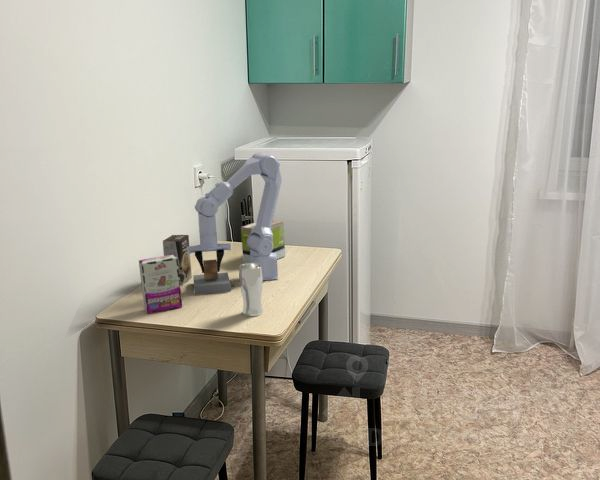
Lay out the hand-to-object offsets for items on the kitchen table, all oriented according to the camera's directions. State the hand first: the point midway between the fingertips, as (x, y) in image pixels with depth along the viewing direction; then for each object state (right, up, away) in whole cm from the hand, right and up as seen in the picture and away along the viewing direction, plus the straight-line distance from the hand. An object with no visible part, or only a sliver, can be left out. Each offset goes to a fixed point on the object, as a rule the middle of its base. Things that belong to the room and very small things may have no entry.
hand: (210, 271), depth 201 cm
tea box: (+16, +3, +32) cm, 36 cm away
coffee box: (-13, -4, +9) cm, 16 cm away
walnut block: (0, -2, 0) cm, 2 cm away
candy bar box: (-12, -11, -17) cm, 23 cm away
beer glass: (+16, -12, -22) cm, 30 cm away
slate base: (0, -5, +1) cm, 6 cm away
